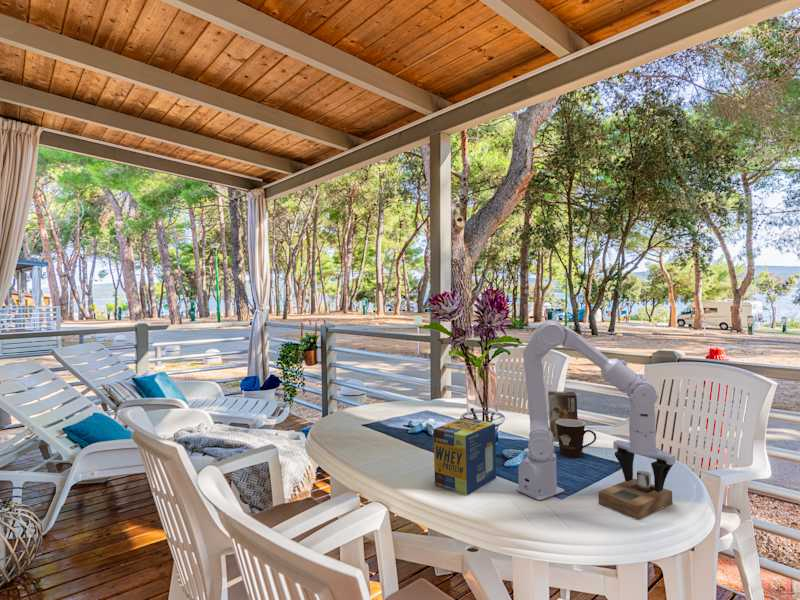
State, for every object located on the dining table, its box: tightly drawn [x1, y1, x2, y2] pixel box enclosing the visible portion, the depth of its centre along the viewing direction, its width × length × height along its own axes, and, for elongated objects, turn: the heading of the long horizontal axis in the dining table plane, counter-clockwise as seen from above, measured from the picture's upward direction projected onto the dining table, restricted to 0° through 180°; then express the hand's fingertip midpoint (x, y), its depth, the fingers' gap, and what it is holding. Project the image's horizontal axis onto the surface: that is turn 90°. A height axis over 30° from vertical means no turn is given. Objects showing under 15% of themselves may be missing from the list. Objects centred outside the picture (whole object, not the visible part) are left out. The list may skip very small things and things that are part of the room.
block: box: [597, 477, 673, 520], centre depth 115 cm, size 14×10×3 cm
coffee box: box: [547, 390, 579, 442], centre depth 166 cm, size 9×6×16 cm
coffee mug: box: [556, 419, 597, 459], centre depth 149 cm, size 12×9×10 cm
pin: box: [636, 470, 652, 493], centre depth 117 cm, size 3×3×6 cm
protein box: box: [433, 417, 497, 496], centre depth 131 cm, size 10×15×16 cm
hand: (643, 485), depth 117 cm, fingers open, 7 cm apart
